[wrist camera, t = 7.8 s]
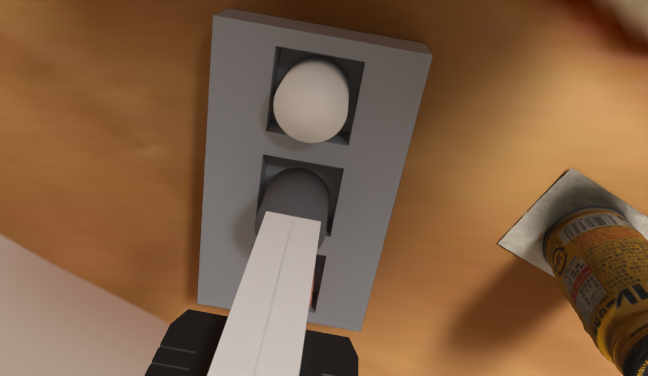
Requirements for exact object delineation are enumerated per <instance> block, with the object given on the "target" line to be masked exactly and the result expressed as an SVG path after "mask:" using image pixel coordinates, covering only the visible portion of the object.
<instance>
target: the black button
mask: <svg viewBox="0 0 648 376" xmlns="http://www.w3.org/2000/svg"><path fill="white" fill-rule="evenodd" d="M329 200H330V195H329V190H328V187H327V185H326V183H325V182H324V180H323V179H322V178H321V177H320V176H319V175H317V174H316V173H314V172H312V171H310V170H307V169H303V168H289V169H286V170H283V171H281V172H279V173H278V174H276V175H275V176H274V177H273V178H272V180H271V181H270V183H269V185H268V188H267V190H266V193H265V196H264V198H263V201H262V203H261V206H260V208H259V211H258V214H257V216H256V219H255V225H254V228H255V234H256V237H257V235H258V233H259V230H260V227H261V224H262V221H263V219H264V216H265V213H266V211H268V212H273V213H279V214H284V215H289V216H294V217H300V218H305V219H310V220H315V221H321V226H320V233H319V240H318V247H317V250H318V249H319V248H320V247H321V245H322V243H323V241H324V239H325V234H326V225H327V217H328V209H329Z"/></svg>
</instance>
